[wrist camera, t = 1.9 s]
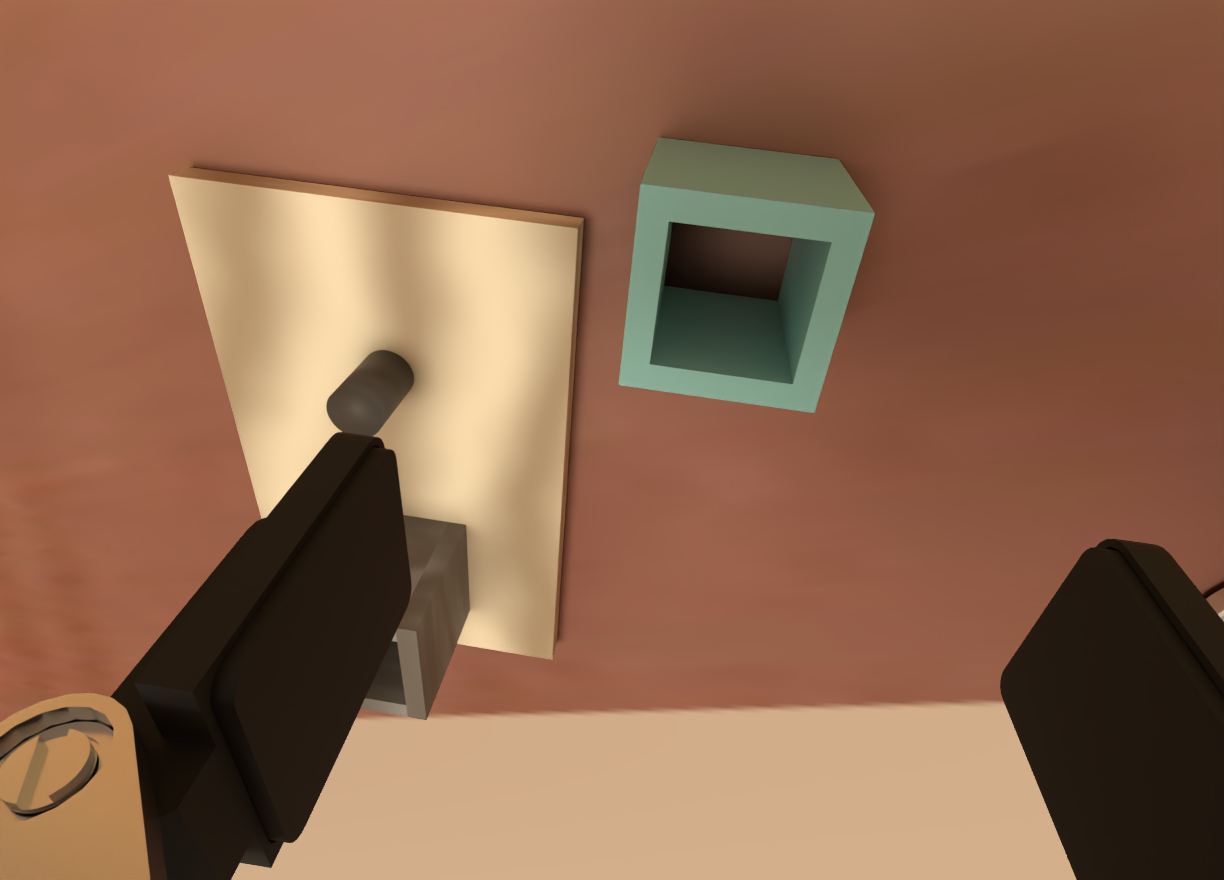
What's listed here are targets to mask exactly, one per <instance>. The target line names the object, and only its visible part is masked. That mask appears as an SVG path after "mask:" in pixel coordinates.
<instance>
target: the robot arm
mask: <svg viewBox="0 0 1224 880" xmlns="http://www.w3.org/2000/svg"><path fill="white" fill-rule="evenodd" d="M411 588H412V584H411V574H410V566H409V558H408V550H407V541H406V533H405V525H404V516H403V508H402V500H401V491H400V483H399V475H398V466H397V458H396V454H395V452H394V451H393V450H391V449H385V447H384V443H383V441H382V439H381V438H379V437H374V436H367V435H359V434H352V433H345V432H337V433H335V434H334V435H333V436H332V437H331V438H330V439H329V440H328V441H327V443H326V444H325V445H324V446H323V448H322V449H321V450H320V451H319V453H318V454H317V455H316V456H315V458H314V459H313V460H312V461H311V463H310V464H309V465H308V466H307V468H306V469H305V470H304V471H303V473H302V474H301V475H300V476H299V478H298V479H297V480H296V481H295V483H294V484H293V485H292V486H291V488H290V489H289V490H288V491H287V492H286V494H285V495H284V496H283V497H282V499H281V500H280V501H279V502H278V504H277V505H276V506H275V507H274V509H273V510H272V511H271V512H270V514H269V515H268V516H267V517H266V518H263V519H261V520H258V521H256V522H255V523H254V524H253V525H252V526H251V527H250V528H249V529H248V530H247V531H246V532H245V533H244V535H243V536H242V537H241V538H240V539H239V541H238V542H237V543H236V544H235V546H234V547H233V548H232V549H231V550H230V552H229V553H228V554H227V555H226V556H225V558H224V559H223V560H222V561H221V563H220V564H219V565H218V566H217V567H216V569H215V570H214V571H213V572H212V574H211V575H210V576H209V577H208V578H207V580H206V581H205V582H204V583H203V585H202V586H201V587H200V588H199V589H198V591H197V592H196V593H195V594H194V596H193V597H192V598H191V599H190V600H189V602H188V603H187V604H186V605H185V607H184V608H183V609H182V610H181V611H180V613H179V614H178V615H177V616H176V618H175V619H174V620H173V621H172V622H171V624H170V625H169V626H168V627H167V629H166V630H165V631H164V632H163V633H162V635H161V636H160V637H159V638H158V640H157V641H156V642H155V643H154V644H153V646H152V647H151V648H150V649H149V651H148V652H147V653H146V654H145V655H144V657H143V658H142V659H141V660H140V662H139V663H138V664H137V665H136V666H135V668H134V669H133V670H132V671H131V673H130V674H129V675H128V676H127V677H126V679H125V680H124V681H123V682H122V683H121V685H120V686H119V687H118V688H117V690H116V691H115V692H114V693H113V694H112V696H111V697H107V696H103V695H99V694H95V693H82V694H67V695H63V696H59V697H56V698H52V699H48V700H44V701H41V702H39V703H36V704H34V705H32V706H30V707H28V708H25V709H23V710H21V711H19V712H17V713H15V714H13V715H11V716H10V717H8V718H7V719H5V720H4V721H2V722H1V723H0V880H231V878H232V876H233V874H234V873H235V871H236V869H237V867H238V865H239V863H245V864H252V865H258V866H263V867H269V868H271V867H272V865H273V863H274V861H275V859H276V857H277V854H278V853H279V851H280V848H281V846H282V844H283V842H287V843H292V842H294V841H295V840H297V838H298V837H299V836H300V834H301V833H302V831H303V829H304V827H305V825H306V823H307V821H308V819H309V817H310V815H311V813H312V811H313V808H314V806H315V804H316V802H317V800H318V798H319V796H320V793H321V791H322V789H323V787H324V785H325V783H326V781H327V778H328V776H329V774H330V772H331V770H332V768H333V766H334V764H335V761H336V759H337V757H338V755H339V753H340V751H341V748H342V746H343V744H344V742H345V740H346V738H347V736H348V734H349V731H350V729H351V727H352V725H353V723H354V721H355V719H356V716H357V714H358V712H359V710H360V708H361V706H362V704H363V702H364V699H365V697H366V695H367V693H368V691H369V689H370V687H371V684H372V682H373V680H374V678H375V676H376V674H377V672H378V669H379V667H380V665H381V663H382V661H383V659H384V657H385V654H386V652H387V650H388V648H389V646H390V644H391V642H392V639H393V637H394V635H395V633H396V631H397V629H398V627H399V625H400V622H401V620H402V618H403V616H404V614H405V612H406V609H407V607H408V604H409V600H410V596H411ZM1000 688H1001V694H1002V698H1003V701H1004V703H1005V706H1006V708H1007V710H1008V713H1009V715H1010V718H1011V720H1012V723H1013V725H1014V728H1015V730H1016V732H1017V735H1018V737H1019V740H1020V742H1021V744H1022V747H1023V750H1024V752H1025V754H1026V757H1027V759H1028V762H1029V764H1030V766H1031V769H1032V771H1033V774H1034V776H1035V779H1036V781H1037V784H1038V786H1039V789H1040V791H1041V794H1042V796H1043V798H1044V801H1045V803H1046V806H1047V808H1048V811H1049V813H1050V816H1051V818H1052V821H1053V823H1054V825H1055V828H1056V830H1057V833H1058V835H1059V838H1060V840H1061V843H1062V845H1063V847H1064V850H1065V852H1066V854H1067V857H1068V860H1069V862H1070V864H1071V867H1072V869H1073V872H1074V874H1075V877H1076V879H1077V880H1224V587H1223V588H1222V589H1220V590H1218V591H1217V592H1215V593H1213V594H1211V595H1210V596H1209V597H1208V598H1206V599H1205V598H1204V596H1203V595H1202V594H1201V593H1200V591H1199V590H1198V589H1197V588H1196V586H1195V585H1194V584H1193V582H1192V581H1191V580H1190V579H1189V577H1188V576H1187V575H1186V574H1185V572H1184V571H1183V570H1182V569H1181V567H1180V566H1179V565H1178V564H1177V562H1176V561H1175V560H1174V559H1173V557H1172V556H1171V555H1170V554H1169V553H1168V552H1167V551H1166V550H1165V549H1164V548H1163V547H1160V546H1157V545H1154V544H1147V543H1140V542H1132V541H1125V540H1118V539H1106V540H1104V541H1102V542H1100V543H1099V544H1098V545H1097V546H1096V547H1095V548H1089V549H1087V550H1086V551H1085V552H1084V553H1083V554H1082V555H1081V557H1080V558H1079V560H1078V561H1077V563H1076V564H1075V566H1074V567H1073V569H1072V570H1071V572H1070V573H1069V575H1068V576H1067V578H1066V579H1065V581H1064V582H1063V583H1062V585H1061V586H1060V588H1059V589H1058V591H1057V592H1056V594H1055V595H1054V597H1053V598H1052V600H1051V601H1050V603H1049V604H1048V606H1047V607H1046V609H1045V610H1044V612H1043V613H1042V614H1041V616H1040V617H1039V619H1038V620H1037V622H1036V623H1035V625H1034V626H1033V628H1032V629H1031V631H1030V632H1029V634H1028V635H1027V637H1026V638H1025V640H1024V641H1023V643H1022V644H1021V646H1020V647H1019V648H1018V650H1017V651H1016V653H1015V654H1014V656H1013V657H1012V659H1011V660H1010V662H1009V663H1008V665H1007V666H1006V668H1005V669H1004V671H1003V673H1002V676H1001V684H1000Z"/></svg>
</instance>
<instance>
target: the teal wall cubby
mask: <svg viewBox="0 0 1224 880" xmlns="http://www.w3.org/2000/svg"><path fill="white" fill-rule="evenodd" d="M874 216H875V212H874V211H873V209H872V208H871V206H870V205H869V203H868V202H867V201H866V199H865V198H864V196H863V195H862V193H861V192H860V190H859V189H858V187H857V186H856V184H855V183H854V181H853V180H852V178H851V177H850V175H849V174H848V172H847V171H846V169H845V168H844V166H843V165H842V163H841V162H840V160H839V159H834V158H826V157H818V156H809V155H801V154H793V153H785V152H776V151H768V150H760V149H752V148H743V147H735V146H727V145H719V144H710V143H702V142H694V141H686V140H677V139H669V138H661V137H659V138H658V141H657V143H656V146H655V148H654V151H653V153H652V156H651V159H650V161H649V164H648V166H647V169H646V171H645V174H644V176H643V179H642V181H641V184H640V193H639V202H638V211H637V220H636V230H635V239H634V248H633V258H632V267H631V276H630V285H629V295H628V304H627V313H626V322H625V332H624V341H623V350H622V359H621V369H620V378H619V385H622V386H629V387H636V388H643V389H650V390H657V391H664V392H671V393H678V394H685V395H692V396H699V397H706V398H713V399H720V400H727V401H734V402H741V403H748V404H755V405H762V406H769V407H776V408H783V409H790V410H797V411H804V412H811V413H814V412H815V409H816V406H817V402H818V399H819V396H820V393H821V389H822V386H823V383H824V379H825V376H826V373H827V370H828V366H829V363H830V360H831V357H832V353H833V350H834V347H835V343H836V340H837V337H838V334H839V330H840V327H841V324H842V320H843V317H844V314H845V311H846V307H847V304H848V301H849V298H850V294H851V291H852V288H853V284H854V281H855V278H856V275H857V271H858V268H859V265H860V261H861V258H862V255H863V252H864V248H865V245H866V242H867V239H868V235H869V232H870V229H871V225H872V222H873V219H874ZM673 222H677V223H685V224H693V225H701V226H708V227H716V228H724V229H732V230H740V231H747V232H755V233H763V234H771V235H778V236H786V237H793V239H792V243H791V248H790V252H789V256H788V260H787V264H786V268H785V272H784V277H783V281H782V285H781V289H780V293H779V297H778V301H774V300H767V299H759V298H752V297H744V296H737V295H730V294H722V293H715V292H707V291H700V290H692V289H685V288H677V287H670V286H664V283H665V276H666V269H667V261H668V254H669V247H670V240H671V232H672V225H673Z"/></svg>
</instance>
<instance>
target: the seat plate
mask: <svg viewBox="0 0 1224 880" xmlns="http://www.w3.org/2000/svg"><path fill="white" fill-rule="evenodd" d="M168 176H169V179H170V183H171V187H172V190H173V194H174V198H175V201H176V205H177V209H178V213H179V216H180V220H181V224H182V227H183V231H184V235H185V238H186V242H187V246H188V249H189V253H190V257H191V260H192V264H193V268H194V271H195V275H196V279H197V282H198V286H199V290H200V293H201V297H202V301H203V304H204V308H205V312H206V316H207V319H208V323H209V327H210V330H211V334H212V338H213V341H214V345H215V349H216V352H217V356H218V360H219V363H220V367H221V371H222V374H223V378H224V382H225V385H226V389H227V393H228V396H229V400H230V404H231V407H232V411H233V415H234V419H235V422H236V426H237V430H238V433H239V437H240V441H241V444H242V448H243V452H244V455H245V459H246V463H247V466H248V470H249V474H250V477H251V481H252V485H253V488H254V492H255V496H256V499H257V503H258V507H259V510H260V514H261V518H262V519H263V518H266V517H267V516H268V515H269V514H270V512H271V511H272V510H273V509H274V507H275V506H276V505H277V504H278V502H279V501H280V500H281V499H282V497H283V496H284V495H285V494H286V492H287V491H288V490H289V489H290V488H291V486H292V485H293V484H294V483H295V481H296V480H297V479H298V478H299V476H300V475H301V474H302V473H303V471H304V470H305V469H306V468H307V466H308V465H309V464H310V463H311V461H312V460H313V459H314V458H315V456H316V455H317V454H318V453H319V451H320V450H321V449H322V448H323V446H324V445H325V444H326V443H327V441H328V440H329V439H330V438H331V437H332V436H333V435H334V434H335V433H337V432H345V433H352V434H359V435H367V436H374V437H379V438H381V439H382V441H383V443H384V447H385V449H391V450H393V451H394V452H395V454H396V458H397V466H398V475H399V483H400V491H401V500H402V508H403V516H404V525H405V533H406V541H407V550H408V558H409V566H410V574H411V584H412V588H411V596H410V600H409V604H408V607H407V609H406V612H405V614H404V616H403V618H402V620H401V622H400V625H399V627H398V629H397V631H396V633H395V635H394V637H393V639H392V642H391V644H390V646H389V648H388V650H387V652H386V654H385V657H384V659H383V661H382V663H381V665H380V667H379V669H378V672H377V674H376V676H375V678H374V680H373V682H372V684H371V687H370V689H369V691H368V693H367V695H366V697H365V699H364V702H363V704H362V706H361V709H366V710H372V711H378V712H383V713H389V714H395V715H400V716H406V717H412V718H418V719H423V720H427V717H428V715H429V712H430V710H431V707H432V705H433V702H434V700H435V697H436V695H437V692H438V690H439V687H440V685H441V682H442V680H443V677H444V675H445V672H446V670H447V667H448V665H449V662H450V660H451V657H452V655H453V652H454V649H455V647H456V644H462V645H468V646H474V647H480V648H486V649H491V650H497V651H503V652H509V653H515V654H521V655H527V656H533V657H539V658H545V659H551V660H552V659H553V655H554V651H555V647H556V643H557V632H558V617H559V601H560V585H561V570H562V554H563V539H564V523H565V508H566V492H567V476H568V461H569V445H570V430H571V414H572V398H573V383H574V367H575V352H576V336H577V320H578V305H579V289H580V274H581V258H582V242H583V227H584V218H580V217H572V216H564V215H556V214H549V213H541V212H533V211H525V210H518V209H510V208H502V207H494V206H487V205H479V204H471V203H463V202H456V201H448V200H440V199H433V198H425V197H417V196H409V195H402V194H394V193H386V192H378V191H371V190H363V189H355V188H347V187H340V186H332V185H324V184H316V183H309V182H301V181H293V180H285V179H278V178H270V177H262V176H254V175H247V174H239V173H231V172H223V171H216V170H208V169H200V168H192V167H191V168H188V169H185V170H182V171H179V172H177V173H174V174H171V175H168Z"/></svg>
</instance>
